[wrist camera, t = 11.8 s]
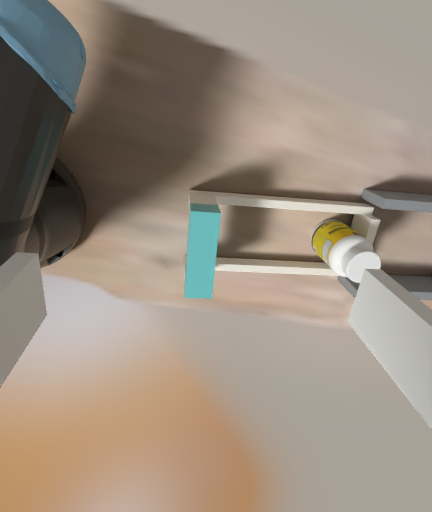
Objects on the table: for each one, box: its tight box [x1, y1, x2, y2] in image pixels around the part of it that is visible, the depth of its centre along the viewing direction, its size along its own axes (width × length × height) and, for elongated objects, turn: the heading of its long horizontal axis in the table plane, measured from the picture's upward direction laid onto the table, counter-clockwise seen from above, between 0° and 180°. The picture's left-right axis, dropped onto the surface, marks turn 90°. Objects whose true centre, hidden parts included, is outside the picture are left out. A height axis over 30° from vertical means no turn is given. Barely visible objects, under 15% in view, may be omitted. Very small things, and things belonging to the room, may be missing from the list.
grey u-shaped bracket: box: [338, 189, 432, 300], centre depth 44 cm, size 16×14×5 cm
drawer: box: [184, 190, 380, 299], centre depth 39 cm, size 24×10×9 cm, turn 84°
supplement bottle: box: [311, 219, 381, 283], centre depth 41 cm, size 5×5×10 cm
